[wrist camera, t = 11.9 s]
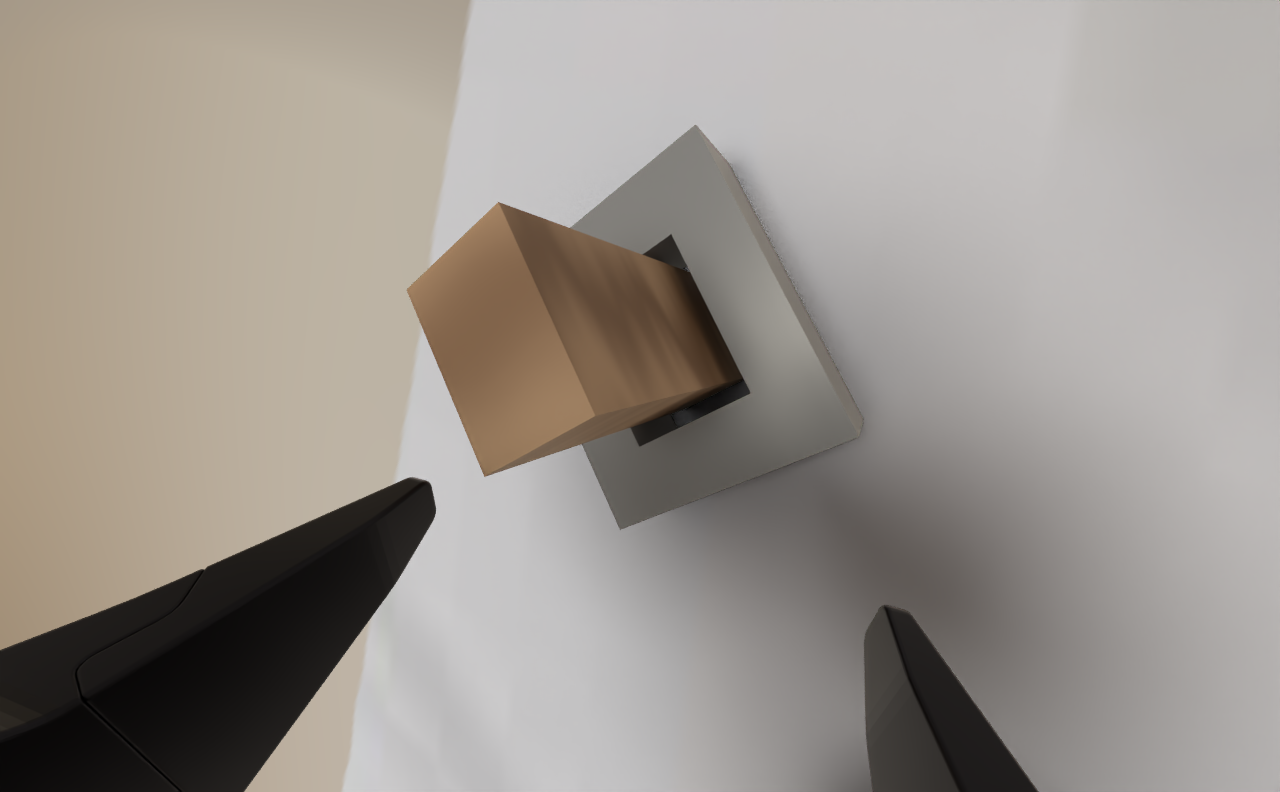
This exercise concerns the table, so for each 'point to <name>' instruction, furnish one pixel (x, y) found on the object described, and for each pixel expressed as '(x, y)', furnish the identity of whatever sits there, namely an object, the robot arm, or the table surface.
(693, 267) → the grey block with slot
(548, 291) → the brown wooden block
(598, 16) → the table surface
